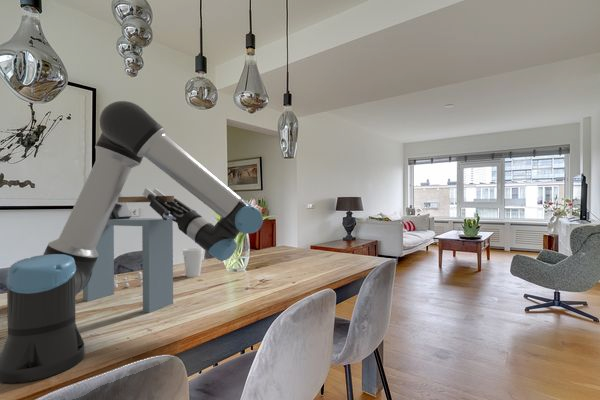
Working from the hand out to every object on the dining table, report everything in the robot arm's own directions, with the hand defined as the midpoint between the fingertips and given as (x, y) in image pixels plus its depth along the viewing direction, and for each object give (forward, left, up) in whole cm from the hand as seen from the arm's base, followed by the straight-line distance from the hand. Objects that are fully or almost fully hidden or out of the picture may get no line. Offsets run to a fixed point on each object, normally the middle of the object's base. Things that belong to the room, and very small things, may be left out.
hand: (149, 191), depth 110 cm
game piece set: (+21, +34, -40) cm, 57 cm away
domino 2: (0, +13, -9) cm, 16 cm away
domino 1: (0, +16, -9) cm, 19 cm away
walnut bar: (0, +2, -4) cm, 4 cm away
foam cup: (+41, +18, -40) cm, 60 cm away
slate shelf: (0, +11, -40) cm, 41 cm away
